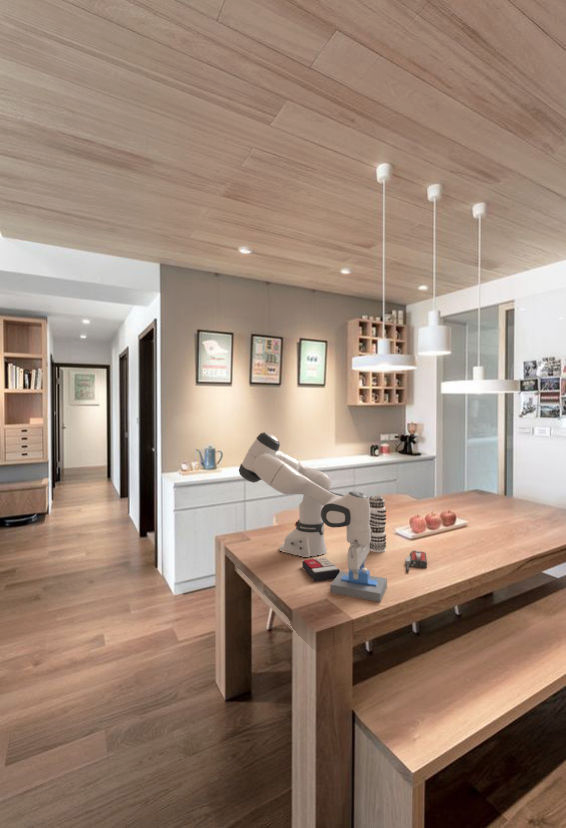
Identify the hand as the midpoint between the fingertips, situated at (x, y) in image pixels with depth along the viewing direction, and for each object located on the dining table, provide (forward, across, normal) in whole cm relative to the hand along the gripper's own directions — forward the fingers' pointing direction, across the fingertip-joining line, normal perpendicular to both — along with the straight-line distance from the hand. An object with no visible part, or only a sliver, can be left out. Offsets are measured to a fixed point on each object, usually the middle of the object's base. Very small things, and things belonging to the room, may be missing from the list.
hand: (359, 573), depth 145 cm
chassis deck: (+6, 0, 0) cm, 6 cm away
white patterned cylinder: (+6, +44, +2) cm, 44 cm away
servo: (+6, 0, 0) cm, 6 cm away
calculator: (+7, +9, +18) cm, 21 cm away
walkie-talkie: (+7, +32, -17) cm, 37 cm away
